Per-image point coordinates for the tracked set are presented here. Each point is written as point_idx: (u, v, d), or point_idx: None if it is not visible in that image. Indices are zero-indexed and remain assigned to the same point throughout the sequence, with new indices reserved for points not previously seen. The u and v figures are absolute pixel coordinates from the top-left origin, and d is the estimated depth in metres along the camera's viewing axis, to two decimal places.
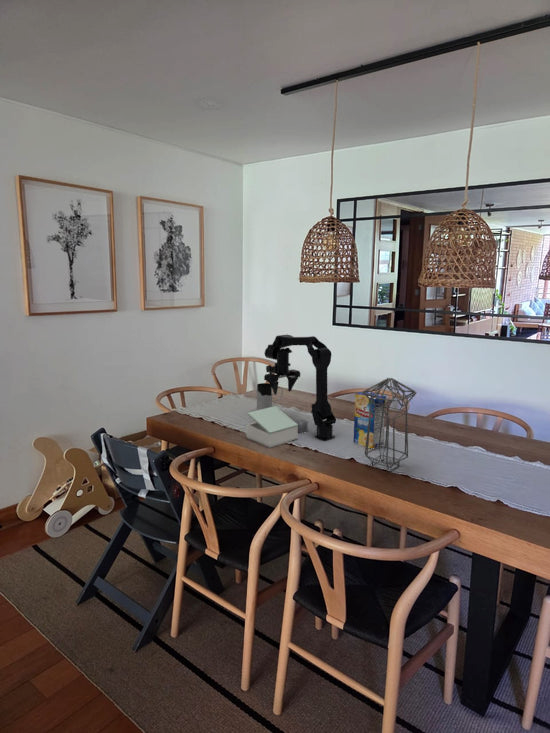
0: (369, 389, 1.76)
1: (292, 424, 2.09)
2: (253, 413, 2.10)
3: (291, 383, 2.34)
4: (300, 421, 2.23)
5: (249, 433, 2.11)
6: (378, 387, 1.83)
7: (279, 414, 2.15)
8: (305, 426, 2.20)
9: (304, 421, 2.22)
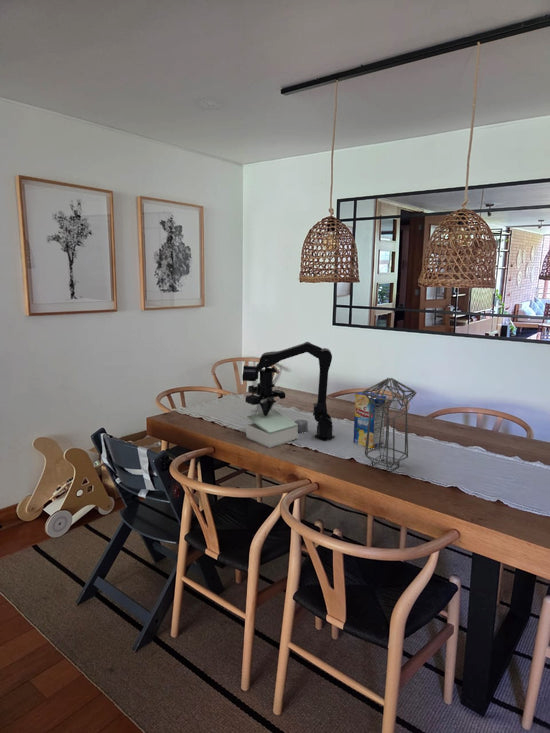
0: (369, 389, 1.76)
1: (292, 424, 2.09)
2: (252, 416, 2.11)
3: None
4: (300, 421, 2.23)
5: (249, 433, 2.11)
6: (378, 387, 1.83)
7: (278, 416, 2.15)
8: (305, 426, 2.20)
9: (304, 421, 2.22)
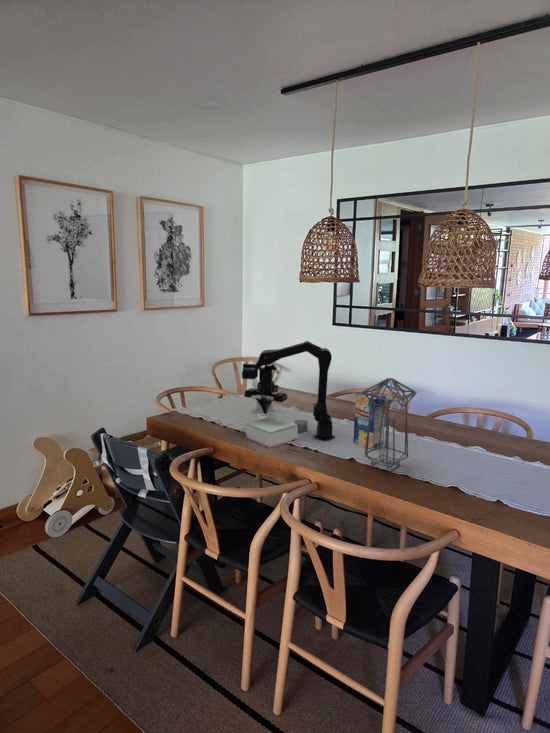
0: (369, 389, 1.76)
1: (291, 424, 2.10)
2: (251, 422, 2.12)
3: None
4: (300, 421, 2.23)
5: (249, 433, 2.11)
6: (378, 387, 1.83)
7: (278, 420, 2.16)
8: (305, 426, 2.20)
9: (304, 421, 2.22)
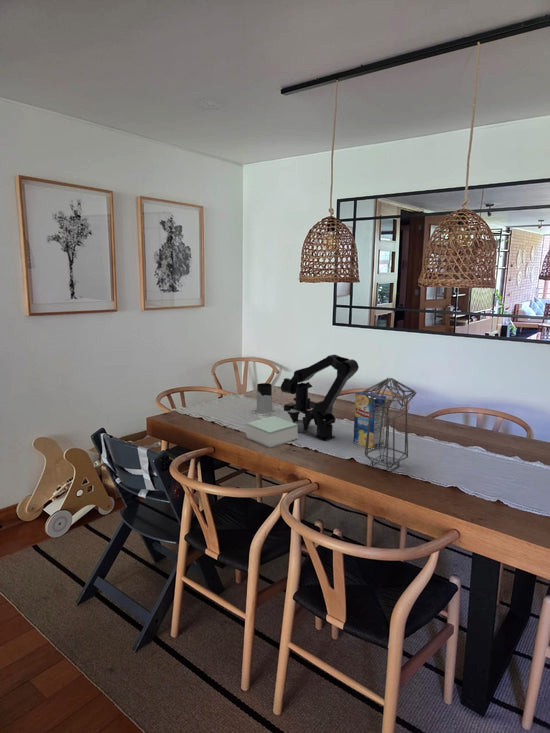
0: (369, 389, 1.76)
1: (291, 424, 2.10)
2: (251, 422, 2.12)
3: None
4: (300, 420, 2.23)
5: (249, 433, 2.11)
6: (378, 387, 1.83)
7: (278, 420, 2.16)
8: None
9: None
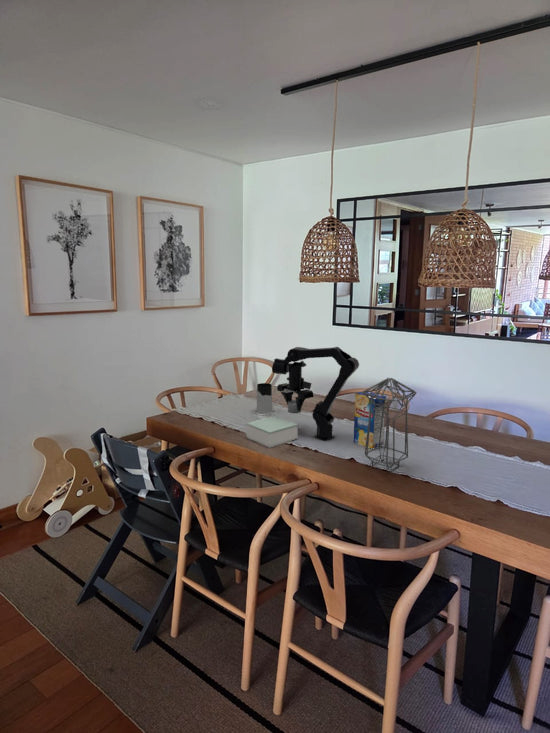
0: (369, 389, 1.76)
1: (291, 424, 2.10)
2: (251, 422, 2.12)
3: None
4: (293, 401, 2.19)
5: (249, 433, 2.11)
6: (378, 387, 1.83)
7: (278, 420, 2.16)
8: None
9: None
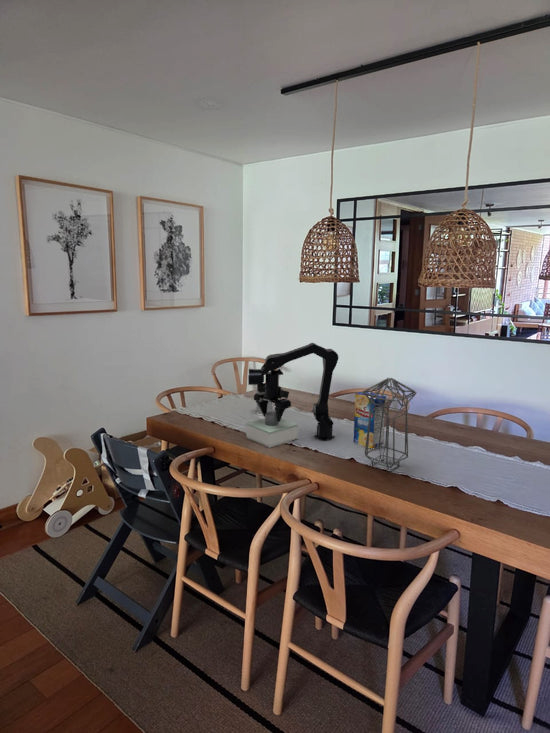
0: (369, 389, 1.76)
1: (291, 424, 2.10)
2: (251, 422, 2.12)
3: None
4: (270, 413, 2.11)
5: (249, 433, 2.11)
6: (378, 387, 1.83)
7: None
8: (276, 418, 2.08)
9: (275, 413, 2.11)
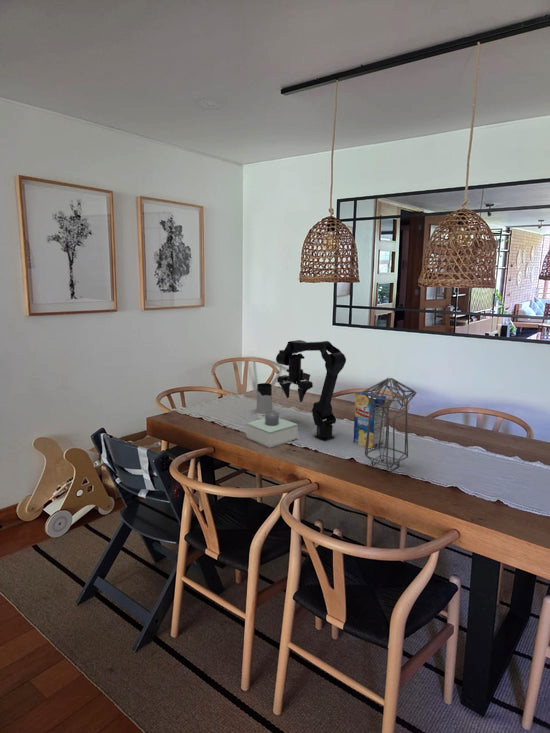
0: (369, 389, 1.76)
1: (291, 424, 2.10)
2: (251, 422, 2.12)
3: None
4: (271, 413, 2.11)
5: (249, 433, 2.11)
6: (378, 387, 1.83)
7: None
8: (276, 418, 2.08)
9: (275, 413, 2.11)
